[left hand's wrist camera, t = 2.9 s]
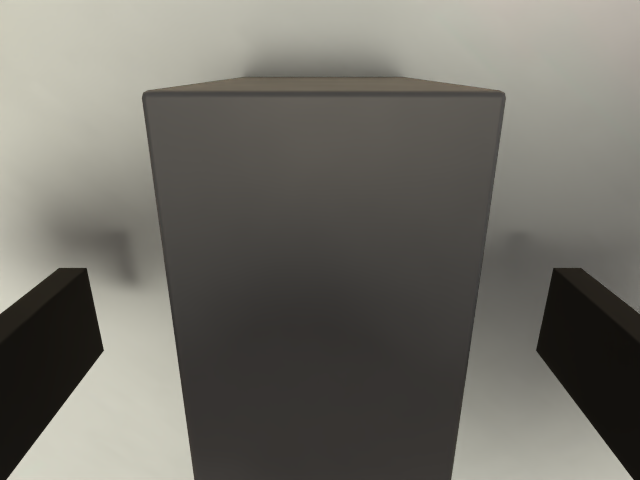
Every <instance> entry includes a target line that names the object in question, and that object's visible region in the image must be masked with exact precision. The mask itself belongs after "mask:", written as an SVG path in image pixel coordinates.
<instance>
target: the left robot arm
mask: <svg viewBox="0 0 640 480" xmlns="http://www.w3.org/2000/svg"><path fill="white" fill-rule="evenodd" d="M103 351H104V349H103V344H102V340H101V335H100V330H99V325H98V321H97V316H96V311H95V306H94V302H93V297H92V292H91V287H90V282H89V278H88V273H87V268H59V269H57V270H56V271H55V272H54V273H52V274H51V275H50V276H48V277H47V278H46V279H45V280H43V281H42V282H41V283H39V284H38V285H37V286H36V287H34V288H33V289H32V290H31V291H29V292H28V293H27V294H25V295H24V296H23V297H22V298H20V299H19V300H18V301H16V302H15V303H14V304H13V305H11V306H10V307H9V308H8V309H6V310H5V311H4V312H2V313H1V314H0V480H6V479H7V478H8V477H9V476H10V474H11V473H12V472H13V470H14V469H15V468H16V466H17V465H18V464H19V462H20V461H21V460H22V458H23V457H24V456H25V454H26V453H27V452H28V450H29V449H30V448H31V446H32V445H33V444H34V442H35V441H36V440H37V438H38V437H39V436H40V434H41V433H42V432H43V430H44V429H45V428H46V426H47V425H48V424H49V422H50V421H51V420H52V418H53V417H54V416H55V415H56V413H57V412H58V411H59V409H60V408H61V407H62V405H63V404H64V403H65V401H66V400H67V399H68V397H69V396H70V395H71V393H72V392H73V391H74V389H75V388H76V387H77V385H78V384H79V383H80V381H81V380H82V379H83V377H84V376H85V375H86V373H87V372H88V371H89V369H90V368H91V367H92V365H93V364H94V363H95V361H96V360H97V359H98V358H99V356H100V355H101V354H102V352H103ZM536 351H537V352H538V354H539V355H540V356H541V358H542V359H543V360H544V361H545V363H546V364H547V365H548V367H549V368H550V369H551V371H552V372H553V373H554V375H555V376H556V377H557V379H558V380H559V381H560V383H561V384H562V385H563V387H564V388H565V389H566V391H567V392H568V393H569V395H570V396H571V397H572V399H573V400H574V401H575V403H576V404H577V405H578V407H579V408H580V409H581V411H582V412H583V413H584V415H585V416H586V417H587V418H588V420H589V421H590V422H591V424H592V425H593V426H594V428H595V429H596V430H597V432H598V433H599V434H600V436H601V437H602V438H603V440H604V441H605V442H606V444H607V445H608V446H609V448H610V449H611V450H612V452H613V453H614V454H615V456H616V457H617V458H618V460H619V461H620V462H621V464H622V465H623V466H624V468H625V469H626V470H627V472H628V473H629V474H630V476H631V477H632V478H633V479H634V480H640V314H639V313H638V312H636V311H635V310H634V309H632V308H631V307H630V306H629V305H627V304H626V303H625V302H624V301H622V300H621V299H620V298H618V297H617V296H616V295H615V294H613V293H612V292H611V291H609V290H608V289H607V288H606V287H604V286H603V285H602V284H601V283H599V282H598V281H597V280H595V279H594V278H593V277H592V276H590V275H589V274H588V273H586V272H585V271H584V270H583V269H581V268H553V273H552V278H551V282H550V287H549V292H548V297H547V302H546V306H545V311H544V316H543V321H542V325H541V330H540V335H539V340H538V344H537V349H536Z"/></svg>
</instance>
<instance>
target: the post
mask: <svg viewBox="0 0 640 480" xmlns="http://www.w3.org/2000/svg"><path fill="white" fill-rule="evenodd" d="M505 100H506V97H505V93H504V92H502V91H499V90H492V89H485V88H478V87H470V86H463V85H456V84H449V83H442V82H435V81H427V80H420V79H413V78H406V77H241V78H234V79H227V80H219V81H212V82H205V83H198V84H191V85H184V86H176V87H169V88H162V89H155V90H148V91H146V92H144V93H143V96H142V101H143V109H144V116H145V123H146V130H147V138H148V145H149V152H150V160H151V167H152V174H153V181H154V189H155V196H156V203H157V211H158V218H159V225H160V232H161V240H162V247H163V254H164V262H165V269H166V276H167V283H168V291H169V298H170V305H171V313H172V320H173V327H174V334H175V342H176V349H177V356H178V364H179V371H180V378H181V385H182V393H183V400H184V407H185V415H186V422H187V429H188V436H189V444H190V451H191V458H192V466H193V473H194V480H451V477H452V470H453V463H454V456H455V449H456V442H457V435H458V428H459V421H460V414H461V407H462V400H463V393H464V386H465V379H466V372H467V365H468V358H469V351H470V344H471V337H472V330H473V323H474V316H475V309H476V302H477V295H478V288H479V281H480V274H481V267H482V260H483V254H484V247H485V240H486V233H487V226H488V219H489V212H490V205H491V198H492V191H493V184H494V177H495V170H496V163H497V156H498V149H499V142H500V135H501V128H502V121H503V114H504V107H505Z"/></svg>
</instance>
